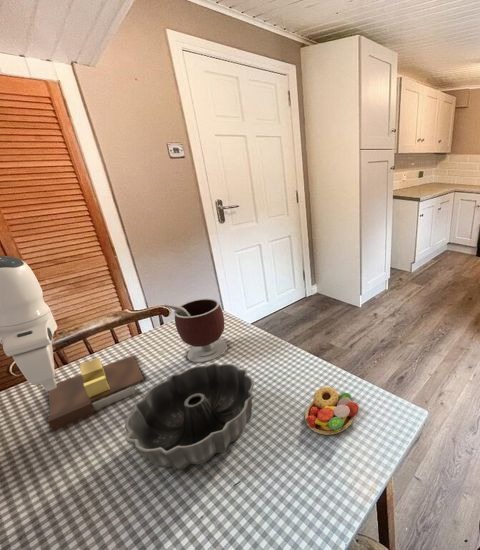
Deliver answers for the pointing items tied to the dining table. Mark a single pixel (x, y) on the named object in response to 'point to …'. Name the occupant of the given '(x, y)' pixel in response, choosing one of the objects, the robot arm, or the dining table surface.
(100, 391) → the butter pat
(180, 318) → the mate gourd
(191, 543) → the dining table surface
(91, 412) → the knife
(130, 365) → the butter board
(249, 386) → the bundt pan
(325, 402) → the toy food set
